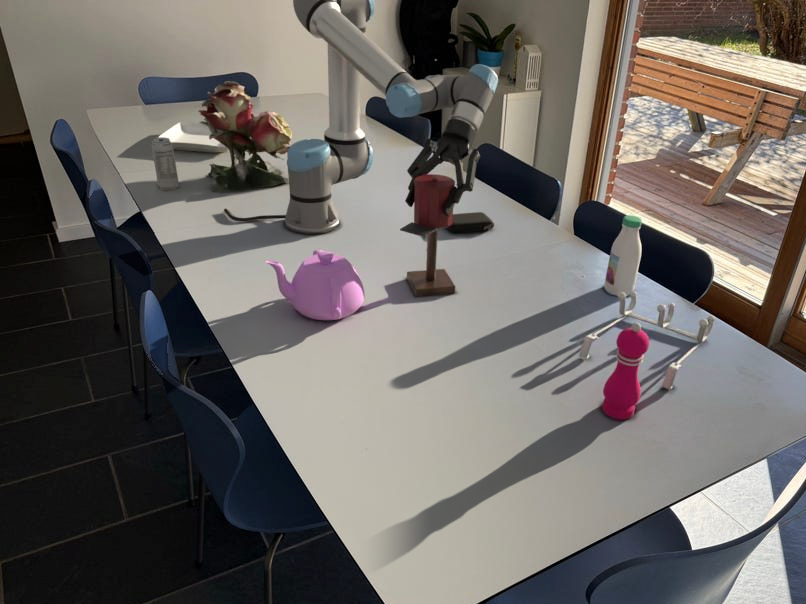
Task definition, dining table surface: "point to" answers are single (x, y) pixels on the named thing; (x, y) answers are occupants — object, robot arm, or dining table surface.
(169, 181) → the energy drink can
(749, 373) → the dining table surface
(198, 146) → the square plate
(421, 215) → the cap
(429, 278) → the hat stand
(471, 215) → the carrying case
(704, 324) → the over door rack
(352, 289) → the teapot
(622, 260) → the milk bottle
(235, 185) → the rose bouquet
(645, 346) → the pepper mill
